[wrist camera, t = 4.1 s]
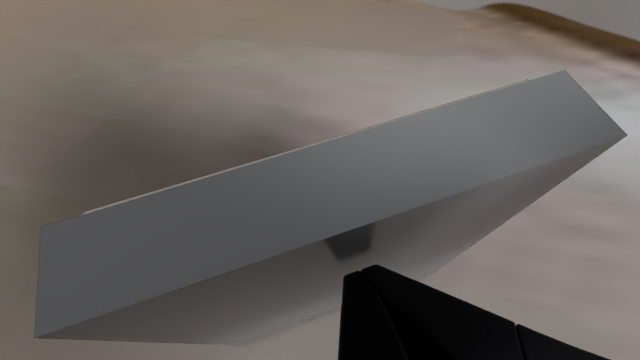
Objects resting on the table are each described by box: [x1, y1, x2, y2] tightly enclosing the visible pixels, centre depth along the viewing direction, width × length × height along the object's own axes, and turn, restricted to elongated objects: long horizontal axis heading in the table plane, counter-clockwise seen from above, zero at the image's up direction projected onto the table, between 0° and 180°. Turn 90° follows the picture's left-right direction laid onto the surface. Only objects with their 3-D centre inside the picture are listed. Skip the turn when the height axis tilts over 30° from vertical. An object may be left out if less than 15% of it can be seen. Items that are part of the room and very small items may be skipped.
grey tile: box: [34, 70, 627, 346], centre depth 11 cm, size 2×10×12 cm, turn 109°
